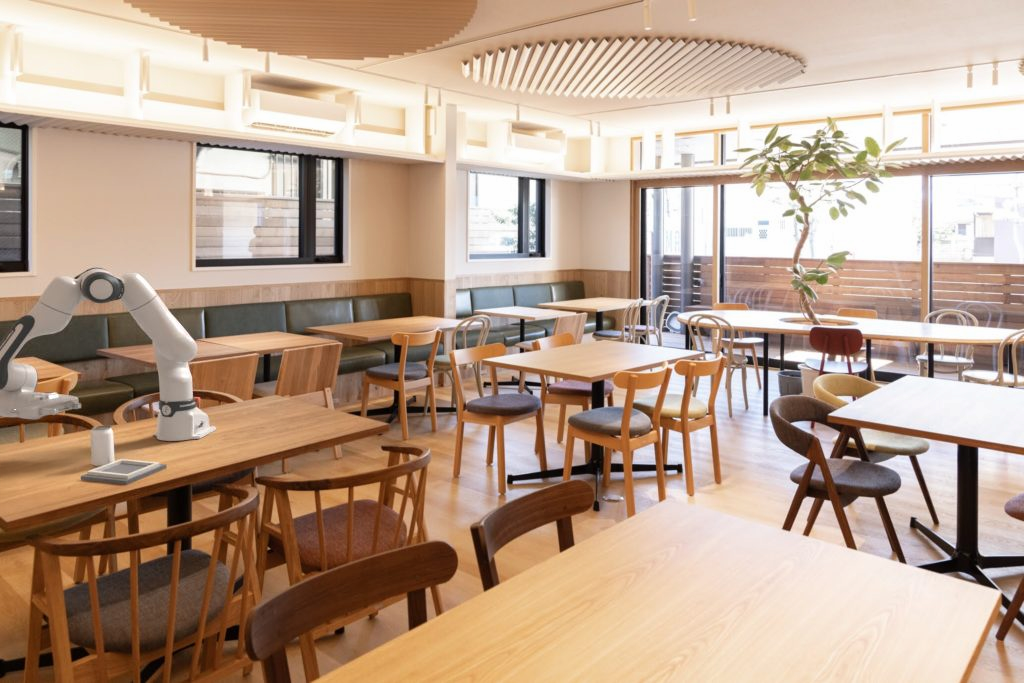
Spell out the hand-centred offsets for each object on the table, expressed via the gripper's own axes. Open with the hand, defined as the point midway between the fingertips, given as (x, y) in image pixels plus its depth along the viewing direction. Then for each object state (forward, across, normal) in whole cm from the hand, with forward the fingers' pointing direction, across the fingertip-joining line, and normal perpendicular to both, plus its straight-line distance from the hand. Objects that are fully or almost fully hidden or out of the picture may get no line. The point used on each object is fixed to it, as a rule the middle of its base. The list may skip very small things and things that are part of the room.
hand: (68, 408), depth 257 cm
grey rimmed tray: (+26, -7, +17) cm, 32 cm away
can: (+12, 0, +17) cm, 21 cm away
